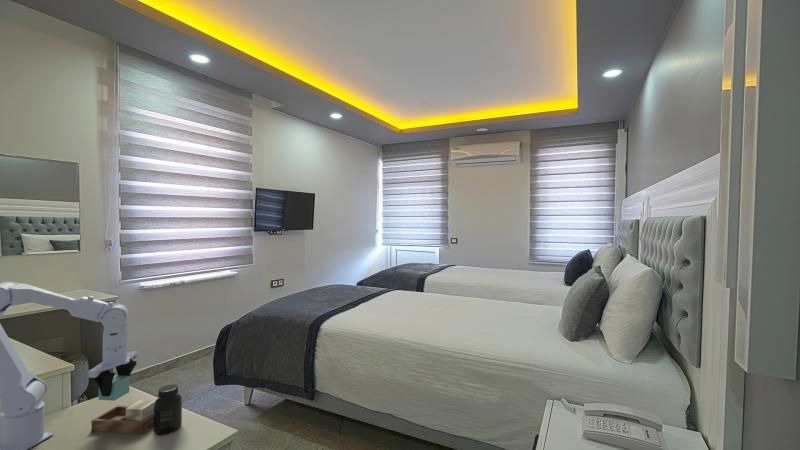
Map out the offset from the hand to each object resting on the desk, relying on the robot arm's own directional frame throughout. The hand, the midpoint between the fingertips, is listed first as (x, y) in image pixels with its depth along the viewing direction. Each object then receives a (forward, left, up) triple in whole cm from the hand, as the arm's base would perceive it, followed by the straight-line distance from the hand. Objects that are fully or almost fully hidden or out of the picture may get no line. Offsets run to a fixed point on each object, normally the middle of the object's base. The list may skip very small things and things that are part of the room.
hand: (114, 391), depth 102 cm
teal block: (0, 0, -2) cm, 2 cm away
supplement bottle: (+18, -1, -10) cm, 21 cm away
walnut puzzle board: (+5, 0, -10) cm, 11 cm away
